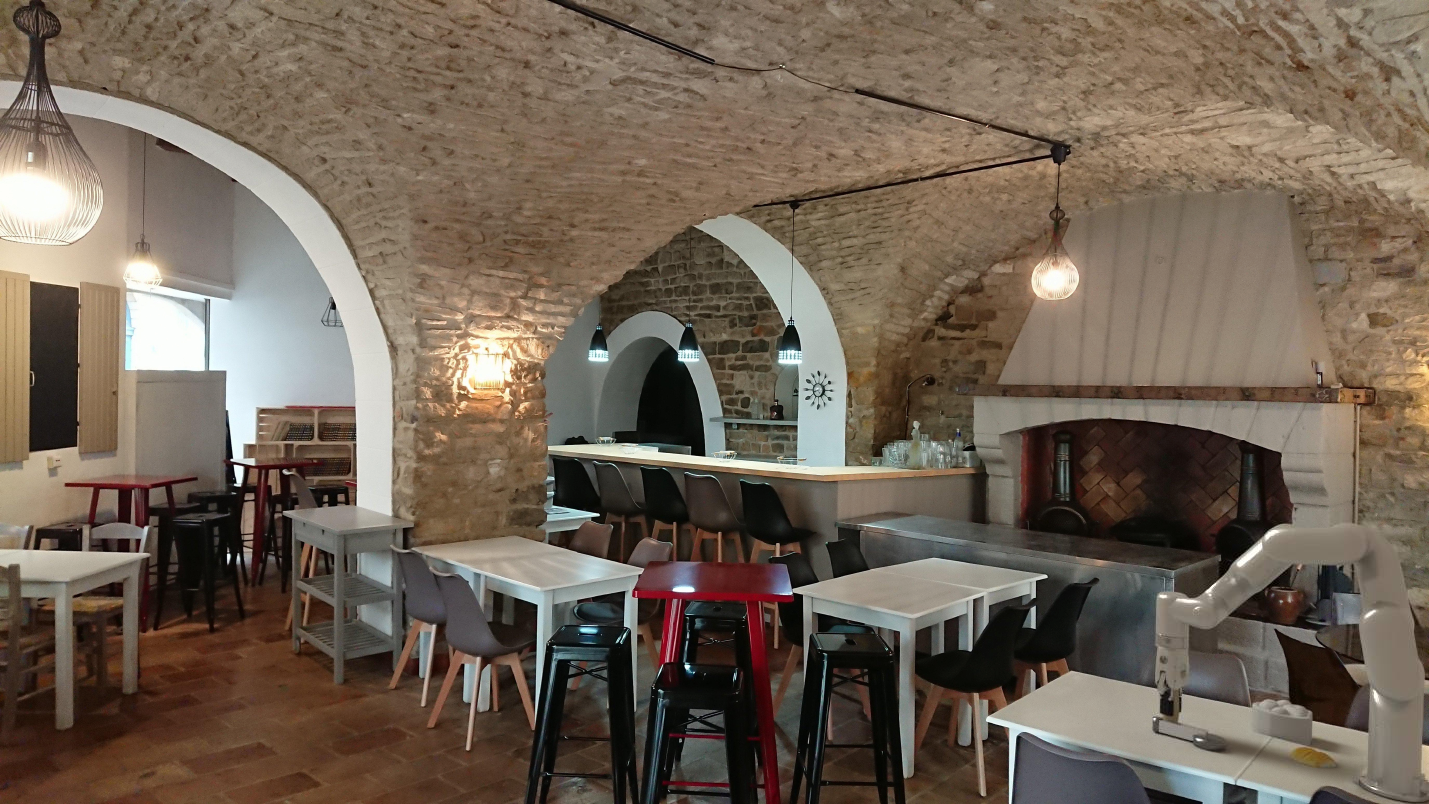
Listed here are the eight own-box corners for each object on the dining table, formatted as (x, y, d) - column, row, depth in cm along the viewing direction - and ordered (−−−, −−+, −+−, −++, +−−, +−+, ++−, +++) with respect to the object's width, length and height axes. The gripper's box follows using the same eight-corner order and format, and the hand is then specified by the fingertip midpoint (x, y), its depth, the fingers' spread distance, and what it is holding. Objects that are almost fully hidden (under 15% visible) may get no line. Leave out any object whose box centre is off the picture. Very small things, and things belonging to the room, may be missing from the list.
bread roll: (1308, 757, 218) (1309, 741, 218) (1342, 773, 209) (1343, 755, 209) (1280, 759, 216) (1281, 743, 216) (1313, 775, 207) (1314, 758, 207)
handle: (1182, 733, 225) (1183, 673, 225) (1154, 727, 229) (1155, 668, 229) (1186, 728, 228) (1187, 669, 228) (1158, 722, 232) (1159, 664, 232)
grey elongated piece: (1229, 746, 219) (1229, 731, 219) (1220, 753, 214) (1220, 738, 214) (1157, 727, 231) (1158, 713, 231) (1147, 734, 226) (1147, 719, 226)
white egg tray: (1308, 749, 223) (1309, 714, 223) (1248, 736, 231) (1249, 702, 231) (1313, 737, 231) (1314, 704, 231) (1254, 725, 239) (1255, 692, 239)
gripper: (1173, 649, 220) (1172, 724, 220) (1200, 639, 231) (1199, 710, 231) (1142, 643, 226) (1141, 715, 226) (1170, 633, 237) (1169, 702, 237)
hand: (1170, 712), depth 228 cm, fingers closed on handle, 3 cm apart
